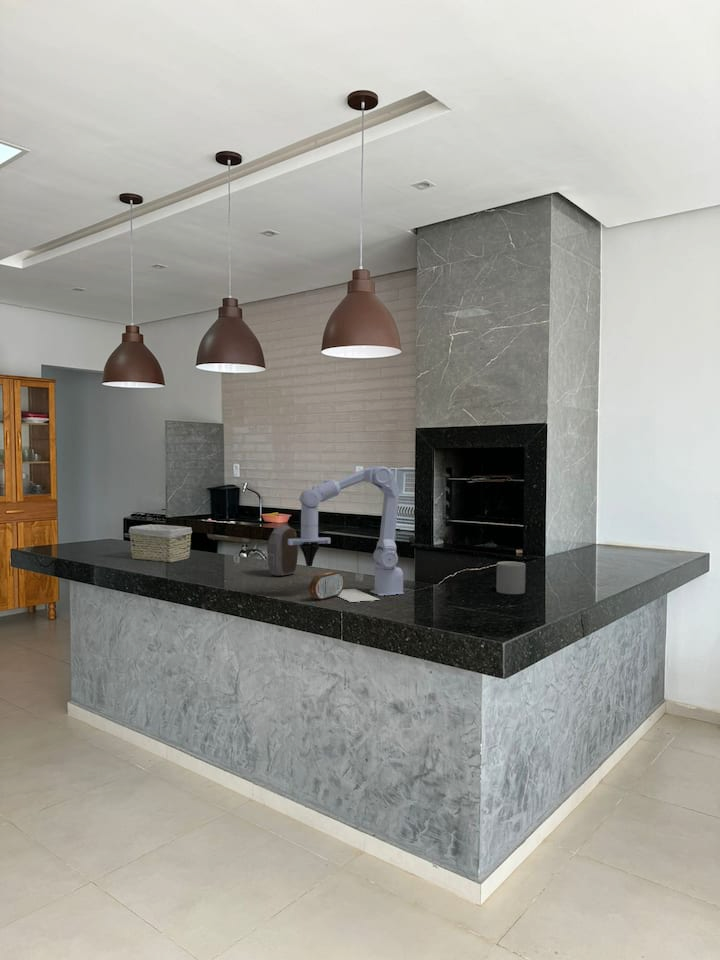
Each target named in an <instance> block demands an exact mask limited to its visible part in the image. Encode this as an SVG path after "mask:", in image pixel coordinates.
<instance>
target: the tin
mask: <svg viewBox="0 0 720 960" xmlns="http://www.w3.org/2000/svg"><path fill="white" fill-rule="evenodd" d="M344 577H345V576H344V575H343V573H341V572H339V571H336V570H330V571H324V572H319V573H317V574H316V573H315V575H314V576H313V577H312V578H311V580H310V582H309V588H308V589H309V594H310V596H311V598H313V599H316V600H325V599H330V598H333V597H337V595H339V594H340V593H341V592H342V590H344V587H345V579H344Z"/></svg>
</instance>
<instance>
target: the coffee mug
mask: <svg viewBox="0 0 720 960" xmlns="http://www.w3.org/2000/svg"><path fill="white" fill-rule="evenodd" d="M495 590H496V592H497V593H500V594H504V595H522V594H525V593H526V563H525V562H521V561H519V562H518V561H507V560H506V561H498V562H496V589H495Z"/></svg>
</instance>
